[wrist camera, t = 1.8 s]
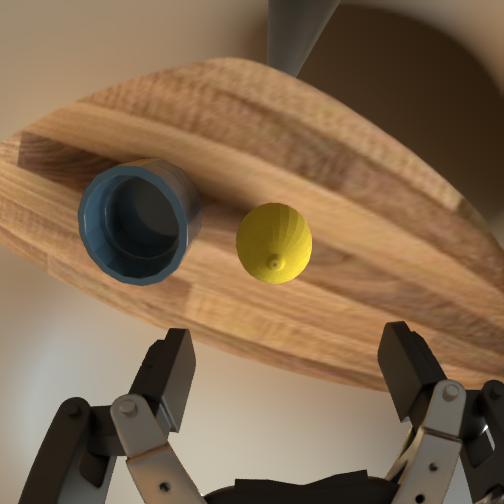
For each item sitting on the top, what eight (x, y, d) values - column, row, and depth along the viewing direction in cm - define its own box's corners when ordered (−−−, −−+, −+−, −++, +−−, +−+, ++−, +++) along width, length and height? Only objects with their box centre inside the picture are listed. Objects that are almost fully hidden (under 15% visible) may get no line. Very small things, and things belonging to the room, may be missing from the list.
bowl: (130, 141, 22) (98, 145, 17) (222, 188, 24) (210, 203, 18) (99, 229, 25) (69, 250, 20) (178, 273, 27) (160, 304, 22)
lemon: (271, 180, 23) (274, 202, 16) (317, 223, 24) (338, 263, 17) (227, 226, 25) (211, 266, 18) (273, 265, 26) (276, 317, 19)
